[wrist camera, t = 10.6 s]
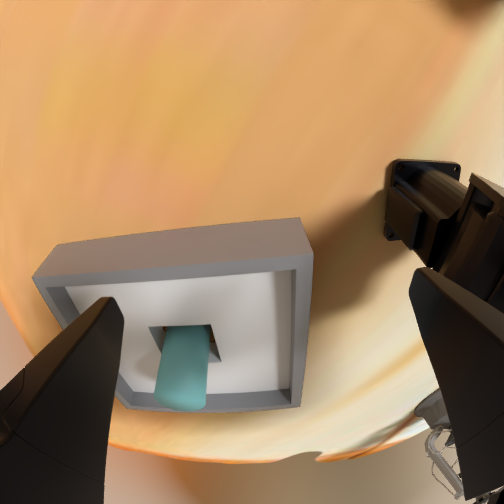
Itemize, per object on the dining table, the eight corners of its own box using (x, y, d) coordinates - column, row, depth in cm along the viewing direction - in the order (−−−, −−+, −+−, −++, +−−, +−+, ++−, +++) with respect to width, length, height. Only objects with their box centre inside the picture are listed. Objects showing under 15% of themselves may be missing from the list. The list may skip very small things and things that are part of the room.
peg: (206, 308, 25) (198, 388, 18) (214, 337, 27) (210, 411, 20) (163, 311, 25) (145, 387, 18) (175, 339, 27) (163, 410, 20)
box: (299, 217, 20) (313, 253, 16) (295, 373, 31) (300, 406, 27) (57, 244, 20) (31, 277, 17) (133, 378, 31) (126, 408, 28)
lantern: (422, 422, 51) (449, 519, 27) (401, 409, 43) (434, 539, 18) (483, 383, 45) (519, 480, 20) (480, 359, 36) (531, 488, 12)
